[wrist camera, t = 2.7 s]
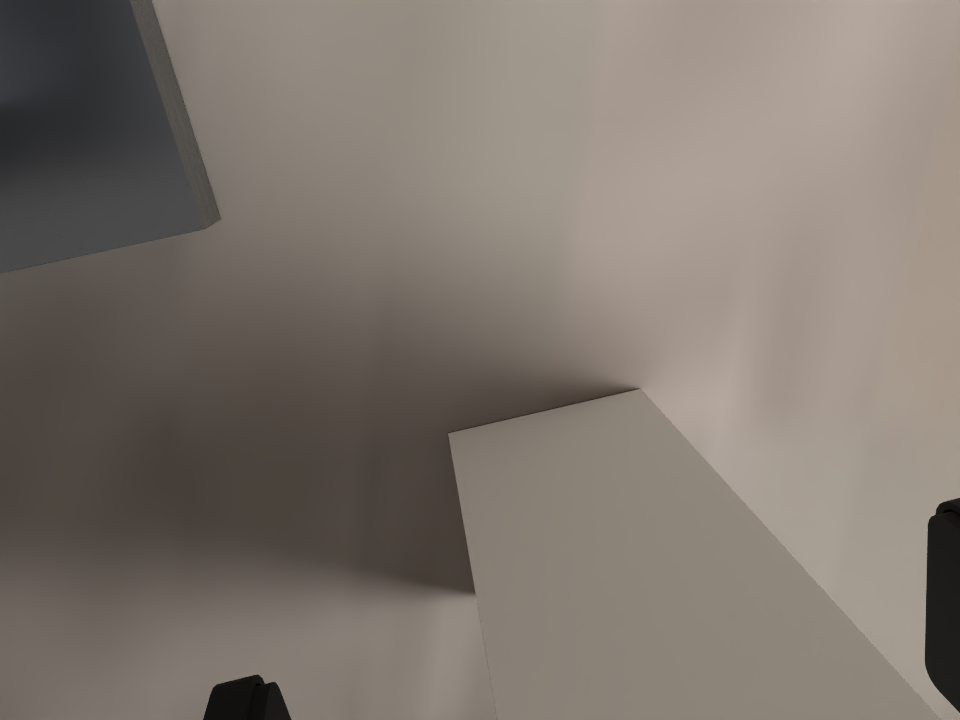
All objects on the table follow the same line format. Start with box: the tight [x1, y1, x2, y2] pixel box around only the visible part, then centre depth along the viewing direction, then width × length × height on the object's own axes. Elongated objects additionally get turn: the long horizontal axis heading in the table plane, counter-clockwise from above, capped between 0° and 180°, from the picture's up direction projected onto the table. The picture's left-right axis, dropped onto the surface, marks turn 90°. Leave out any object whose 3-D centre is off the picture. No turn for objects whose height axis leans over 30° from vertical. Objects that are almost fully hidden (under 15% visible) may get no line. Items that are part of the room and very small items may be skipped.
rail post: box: [448, 389, 941, 720], centre depth 10 cm, size 4×4×12 cm
